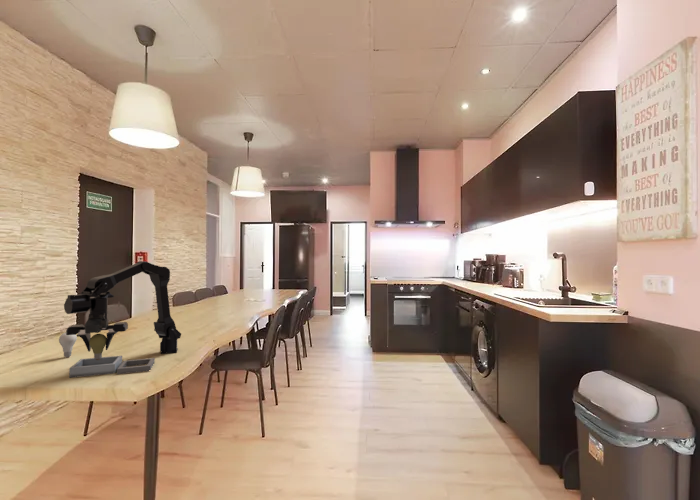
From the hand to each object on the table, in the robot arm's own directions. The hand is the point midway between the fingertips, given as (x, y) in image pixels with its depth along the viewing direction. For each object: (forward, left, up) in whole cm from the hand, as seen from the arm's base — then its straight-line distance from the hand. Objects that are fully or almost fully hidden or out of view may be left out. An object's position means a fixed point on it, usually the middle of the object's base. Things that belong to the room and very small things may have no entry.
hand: (98, 350), depth 136 cm
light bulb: (0, 0, -4) cm, 4 cm away
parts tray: (0, 0, -8) cm, 8 cm away
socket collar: (-13, +2, -8) cm, 16 cm away
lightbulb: (+17, -25, -8) cm, 31 cm away
